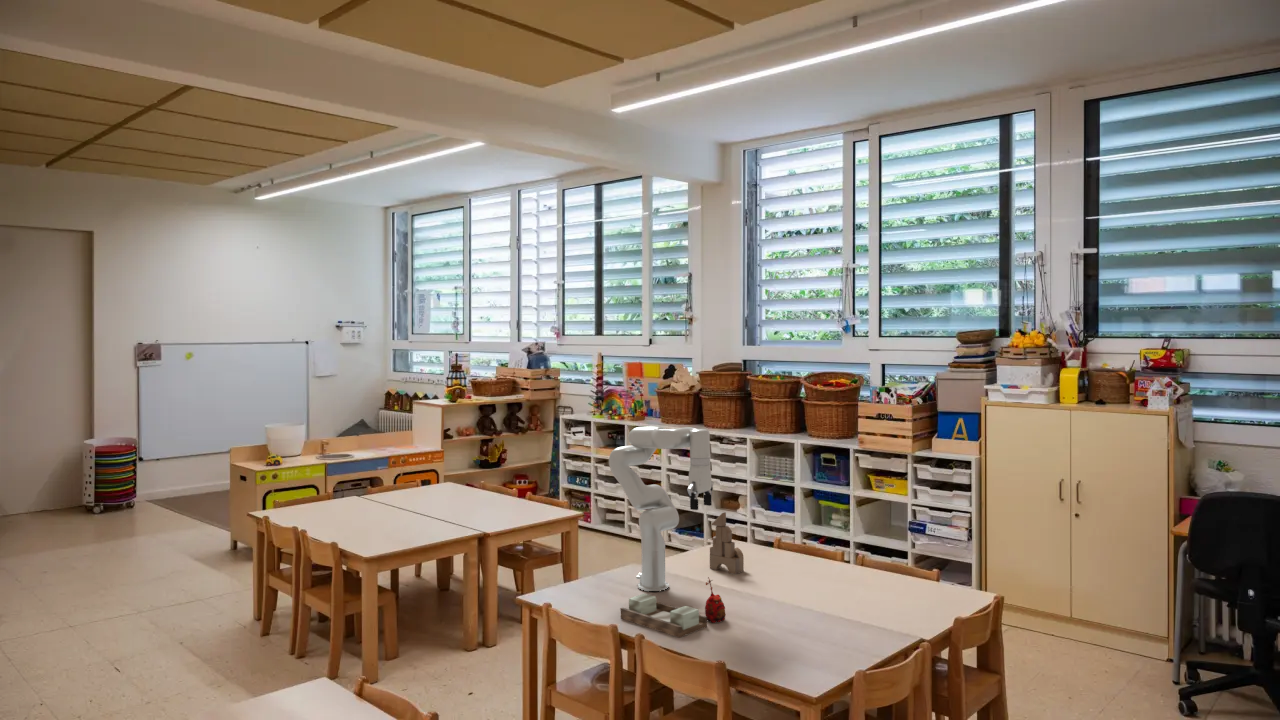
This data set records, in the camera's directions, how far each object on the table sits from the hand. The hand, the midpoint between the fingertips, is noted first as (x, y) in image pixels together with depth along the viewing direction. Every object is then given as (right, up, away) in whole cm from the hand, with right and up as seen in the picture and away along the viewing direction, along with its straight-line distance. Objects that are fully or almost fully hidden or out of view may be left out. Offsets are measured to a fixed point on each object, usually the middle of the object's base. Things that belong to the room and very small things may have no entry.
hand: (701, 507), depth 305 cm
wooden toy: (+14, -35, +45) cm, 59 cm away
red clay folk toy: (+3, -37, -19) cm, 42 cm away
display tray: (-15, -37, -21) cm, 45 cm away
